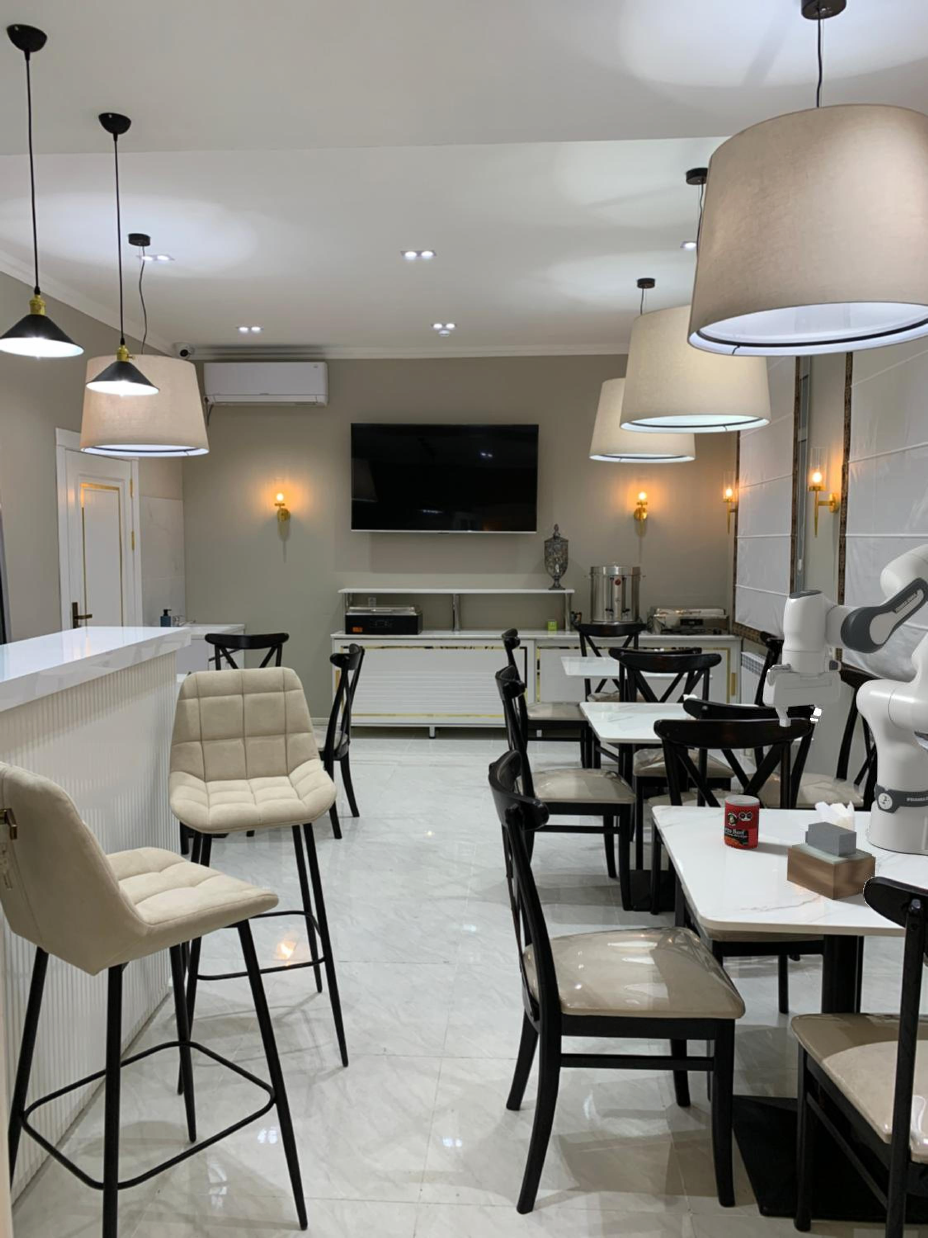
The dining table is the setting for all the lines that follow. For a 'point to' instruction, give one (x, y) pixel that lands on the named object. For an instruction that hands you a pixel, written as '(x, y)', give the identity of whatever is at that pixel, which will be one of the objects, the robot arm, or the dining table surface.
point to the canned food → (741, 821)
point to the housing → (831, 839)
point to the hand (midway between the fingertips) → (800, 724)
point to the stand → (829, 871)
